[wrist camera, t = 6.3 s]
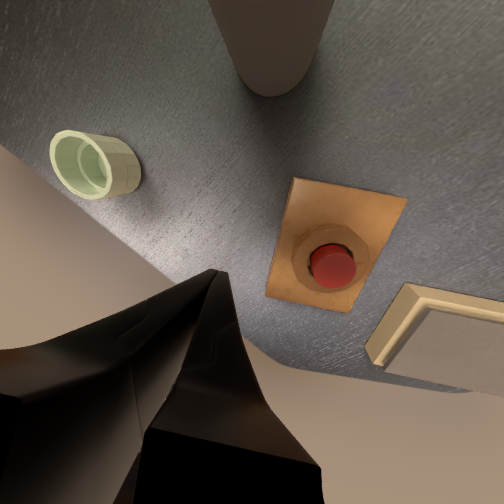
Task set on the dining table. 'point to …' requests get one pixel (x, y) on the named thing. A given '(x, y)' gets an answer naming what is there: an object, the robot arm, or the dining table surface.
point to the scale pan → (452, 351)
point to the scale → (412, 306)
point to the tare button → (332, 266)
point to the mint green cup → (94, 164)
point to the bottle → (271, 39)
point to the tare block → (329, 239)
